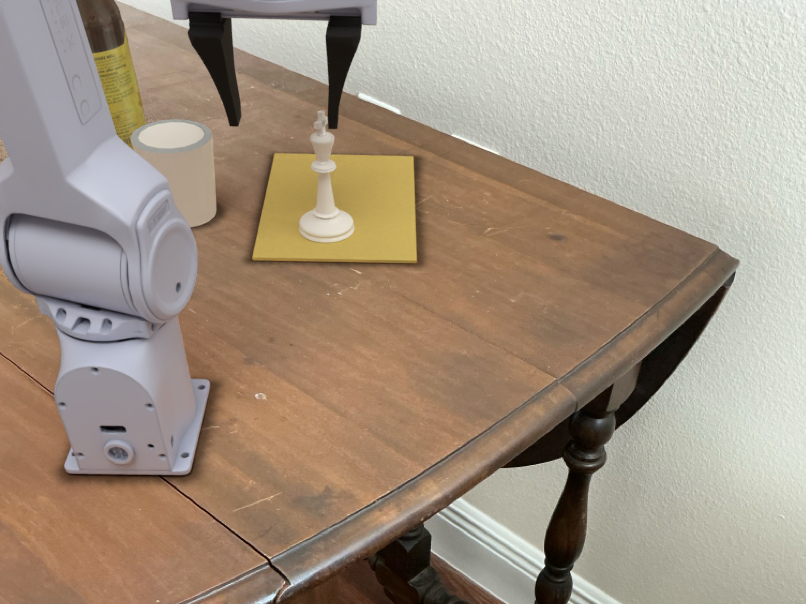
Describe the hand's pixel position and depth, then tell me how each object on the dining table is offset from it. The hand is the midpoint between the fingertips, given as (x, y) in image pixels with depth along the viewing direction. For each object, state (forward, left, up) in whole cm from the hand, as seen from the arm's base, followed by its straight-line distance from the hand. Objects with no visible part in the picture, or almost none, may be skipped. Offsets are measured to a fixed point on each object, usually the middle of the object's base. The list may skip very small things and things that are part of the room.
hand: (284, 122), depth 66 cm
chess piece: (+2, -3, -10) cm, 11 cm away
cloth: (+7, -4, -10) cm, 13 cm away
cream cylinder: (+5, +10, -10) cm, 15 cm away
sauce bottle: (+15, +18, -10) cm, 26 cm away
